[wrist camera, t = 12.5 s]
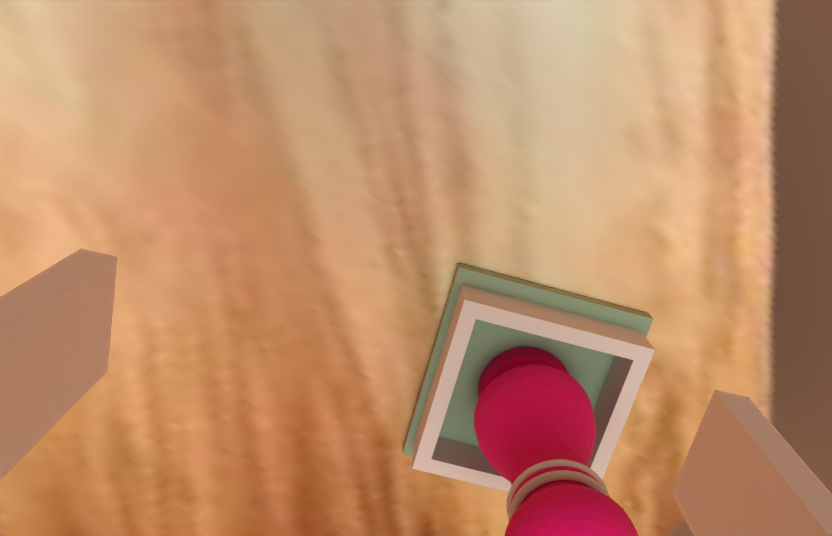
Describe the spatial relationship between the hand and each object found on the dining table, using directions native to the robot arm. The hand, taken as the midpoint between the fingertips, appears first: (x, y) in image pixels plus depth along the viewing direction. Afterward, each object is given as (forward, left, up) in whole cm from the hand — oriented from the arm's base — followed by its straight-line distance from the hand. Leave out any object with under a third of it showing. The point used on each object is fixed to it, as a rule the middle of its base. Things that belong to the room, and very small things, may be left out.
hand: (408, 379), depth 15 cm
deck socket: (+12, +10, -29) cm, 33 cm away
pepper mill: (+12, +10, -28) cm, 32 cm away
